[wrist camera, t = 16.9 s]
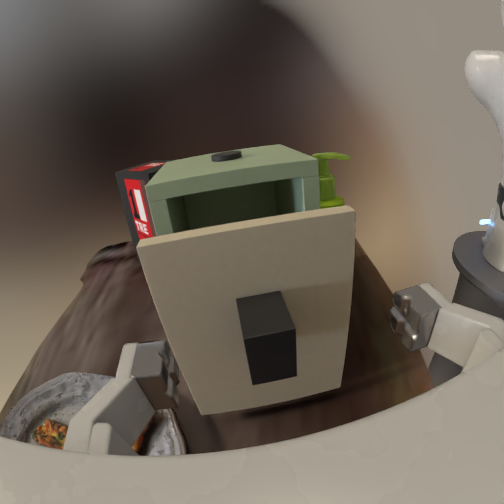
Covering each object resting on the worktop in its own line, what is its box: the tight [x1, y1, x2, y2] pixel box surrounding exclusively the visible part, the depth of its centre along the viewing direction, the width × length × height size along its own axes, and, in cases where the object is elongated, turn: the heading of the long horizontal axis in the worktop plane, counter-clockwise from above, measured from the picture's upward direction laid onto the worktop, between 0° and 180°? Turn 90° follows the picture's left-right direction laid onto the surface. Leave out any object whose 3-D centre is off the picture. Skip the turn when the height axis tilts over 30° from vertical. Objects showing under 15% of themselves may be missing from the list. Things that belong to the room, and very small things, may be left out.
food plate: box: [0, 371, 189, 456], centre depth 20 cm, size 25×23×4 cm
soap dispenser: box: [312, 153, 350, 209], centre depth 43 cm, size 6×7×20 cm
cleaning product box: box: [115, 160, 175, 261], centre depth 55 cm, size 16×9×20 cm, turn 45°
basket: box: [136, 205, 356, 415], centre depth 26 cm, size 17×14×18 cm
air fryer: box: [145, 144, 320, 236], centre depth 35 cm, size 14×15×23 cm
